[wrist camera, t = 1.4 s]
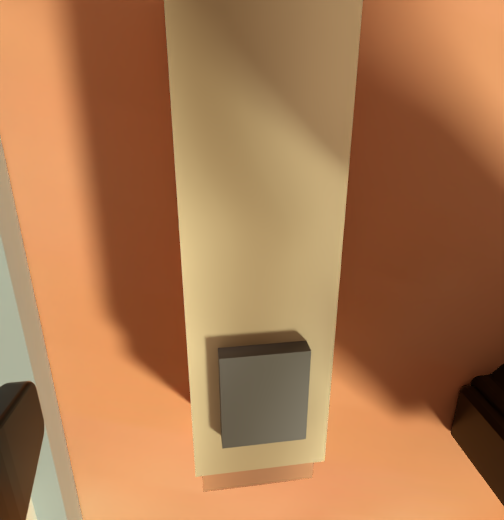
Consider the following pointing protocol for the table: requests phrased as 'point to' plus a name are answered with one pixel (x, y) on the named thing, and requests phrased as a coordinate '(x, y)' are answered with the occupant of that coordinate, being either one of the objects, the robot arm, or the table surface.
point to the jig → (31, 365)
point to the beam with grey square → (261, 223)
